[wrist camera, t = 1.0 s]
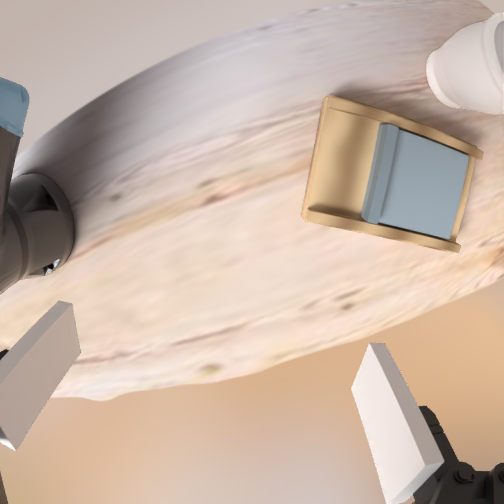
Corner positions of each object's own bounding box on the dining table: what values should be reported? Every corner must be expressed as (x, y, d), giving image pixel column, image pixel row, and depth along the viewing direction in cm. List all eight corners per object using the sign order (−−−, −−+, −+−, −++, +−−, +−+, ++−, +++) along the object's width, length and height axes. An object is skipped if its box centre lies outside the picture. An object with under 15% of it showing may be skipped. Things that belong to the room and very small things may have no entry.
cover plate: (359, 216, 33) (367, 222, 31) (379, 124, 30) (388, 123, 27) (444, 236, 34) (455, 243, 31) (463, 155, 30) (476, 157, 28)
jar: (417, 31, 28) (481, -6, 14) (478, 57, 28) (548, 39, 14) (416, 104, 32) (489, 92, 18) (476, 125, 32) (553, 129, 18)
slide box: (300, 214, 37) (306, 224, 32) (323, 99, 33) (332, 92, 28) (439, 244, 38) (457, 257, 33) (462, 145, 33) (484, 147, 28)
